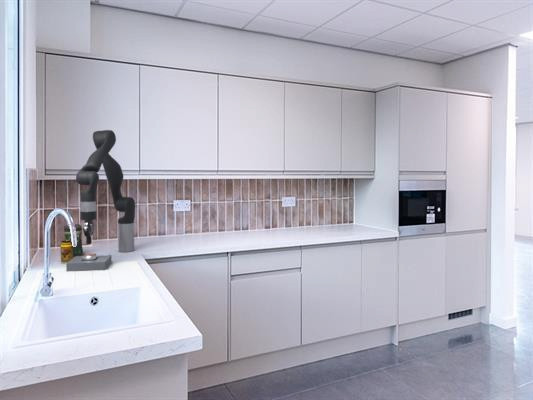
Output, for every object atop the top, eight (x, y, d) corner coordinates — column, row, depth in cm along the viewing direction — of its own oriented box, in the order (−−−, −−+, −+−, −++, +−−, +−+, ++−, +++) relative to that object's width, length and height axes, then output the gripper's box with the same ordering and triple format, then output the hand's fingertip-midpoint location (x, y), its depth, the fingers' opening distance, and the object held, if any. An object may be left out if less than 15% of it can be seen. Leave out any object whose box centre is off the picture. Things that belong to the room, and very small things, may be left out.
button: (85, 260, 207) (85, 253, 207) (97, 260, 208) (97, 253, 208) (82, 263, 201) (81, 256, 201) (94, 263, 202) (94, 255, 202)
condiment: (61, 264, 210) (60, 241, 209) (58, 261, 217) (57, 239, 216) (76, 262, 215) (75, 240, 214) (72, 259, 221) (72, 237, 221)
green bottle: (81, 254, 234) (80, 223, 232) (84, 256, 227) (83, 224, 226) (63, 256, 228) (62, 224, 227) (65, 259, 222) (64, 226, 220)
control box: (75, 263, 211) (75, 256, 211) (111, 262, 214) (111, 255, 214) (66, 271, 195) (66, 263, 195) (105, 269, 199) (105, 262, 198)
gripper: (84, 209, 208) (84, 241, 210) (76, 211, 195) (77, 246, 197) (99, 209, 210) (99, 241, 211) (92, 211, 197) (93, 246, 198)
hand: (89, 243), depth 204 cm, fingers closed
